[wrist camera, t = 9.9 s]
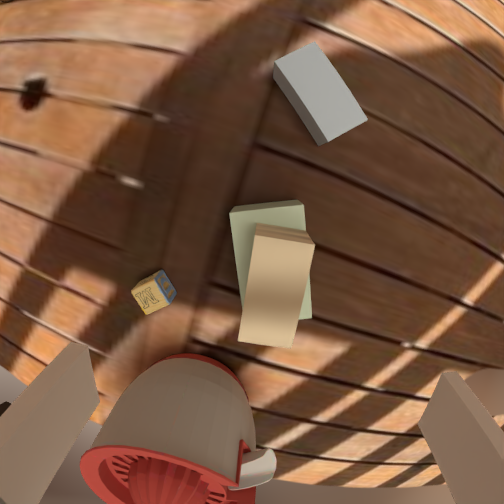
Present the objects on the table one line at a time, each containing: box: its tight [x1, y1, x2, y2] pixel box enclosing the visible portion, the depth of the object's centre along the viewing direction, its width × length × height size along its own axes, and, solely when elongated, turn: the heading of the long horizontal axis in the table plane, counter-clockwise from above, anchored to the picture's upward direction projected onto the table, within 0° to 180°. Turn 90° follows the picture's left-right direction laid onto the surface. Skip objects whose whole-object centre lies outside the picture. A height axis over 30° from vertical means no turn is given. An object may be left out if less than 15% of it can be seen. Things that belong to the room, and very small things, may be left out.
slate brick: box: [273, 42, 368, 146], centre depth 25 cm, size 8×4×5 cm, turn 32°
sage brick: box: [229, 200, 312, 319], centre depth 29 cm, size 10×6×5 cm, turn 7°
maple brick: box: [238, 223, 315, 348], centre depth 24 cm, size 8×4×5 cm, turn 171°
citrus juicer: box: [80, 353, 276, 504], centre depth 26 cm, size 16×17×20 cm
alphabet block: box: [131, 270, 177, 315], centre depth 31 cm, size 3×3×3 cm
